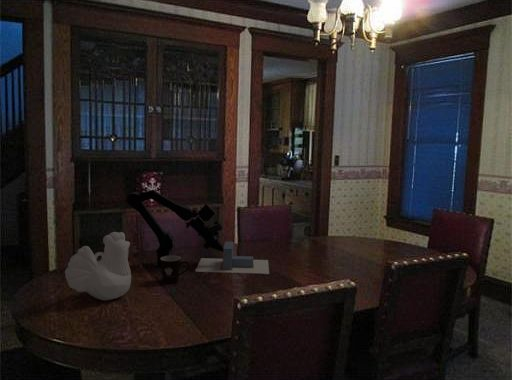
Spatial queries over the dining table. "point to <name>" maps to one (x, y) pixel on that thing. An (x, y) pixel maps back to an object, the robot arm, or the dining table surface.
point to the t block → (234, 258)
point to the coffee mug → (171, 268)
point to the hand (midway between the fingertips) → (223, 251)
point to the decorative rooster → (101, 269)
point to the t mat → (217, 266)
